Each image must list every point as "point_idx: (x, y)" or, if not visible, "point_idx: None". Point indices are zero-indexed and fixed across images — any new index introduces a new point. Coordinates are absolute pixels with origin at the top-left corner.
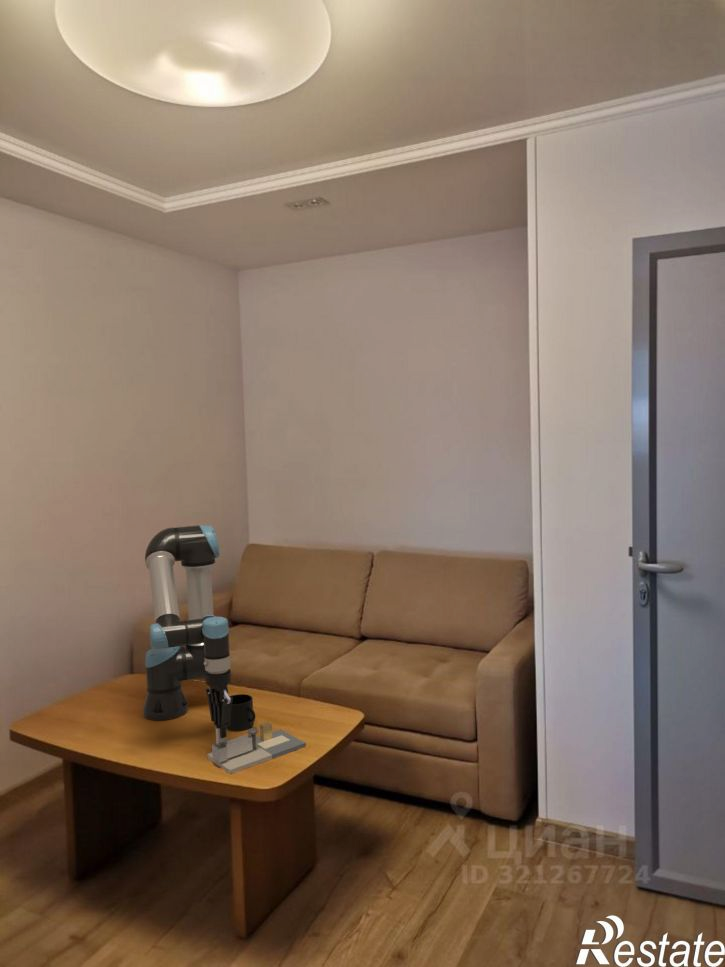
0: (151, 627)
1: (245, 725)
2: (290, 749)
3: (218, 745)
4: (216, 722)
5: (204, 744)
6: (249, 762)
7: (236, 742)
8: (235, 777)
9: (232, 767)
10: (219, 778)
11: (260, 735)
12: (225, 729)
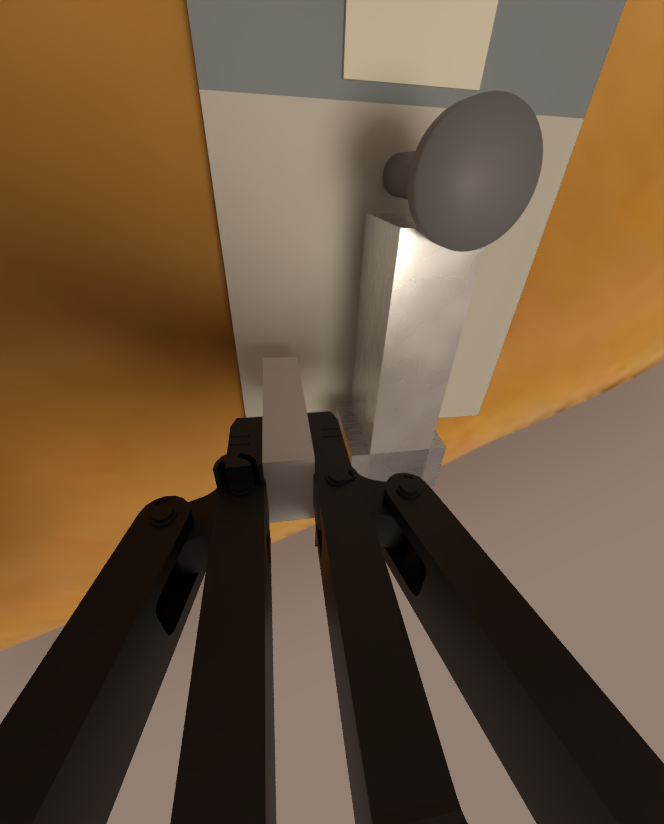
0: None
1: None
2: None
3: (391, 475)
4: (269, 546)
5: (41, 369)
6: (509, 310)
7: (446, 379)
8: (507, 398)
9: (470, 397)
10: (457, 442)
11: None
12: (348, 460)
